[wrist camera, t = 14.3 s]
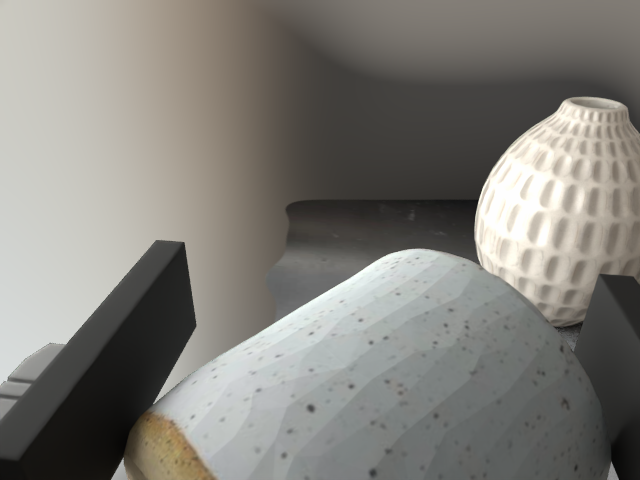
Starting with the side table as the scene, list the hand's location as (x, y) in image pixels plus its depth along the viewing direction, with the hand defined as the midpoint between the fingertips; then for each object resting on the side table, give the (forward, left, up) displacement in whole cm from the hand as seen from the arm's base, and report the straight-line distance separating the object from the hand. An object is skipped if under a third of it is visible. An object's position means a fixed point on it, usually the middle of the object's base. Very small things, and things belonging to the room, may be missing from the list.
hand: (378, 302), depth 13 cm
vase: (+19, -22, -18) cm, 34 cm away
